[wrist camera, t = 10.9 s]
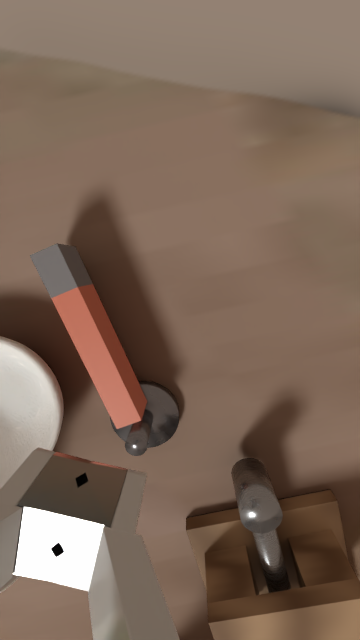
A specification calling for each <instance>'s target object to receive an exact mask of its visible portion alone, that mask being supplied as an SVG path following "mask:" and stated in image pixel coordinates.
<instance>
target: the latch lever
mask: <svg viewBox="0 0 360 640" xmlns="http://www.w3.org/2000/svg"><path fill="white" fill-rule="evenodd" d="M30 257H31V259H32V261H33V263H34V265H35V267H36V269H37V271H38V273H39V275H40V277H41V279H42V281H43V283H44V285H45V287H46V289H47V291H48V293H49V295H50V297H51V299H52V301H53V303H54V305H55V307H56V309H57V311H58V313H59V315H60V317H61V319H62V321H63V323H64V325H65V327H66V329H67V331H68V333H69V335H70V337H71V339H72V341H73V343H74V345H75V347H76V349H77V351H78V353H79V355H80V357H81V359H82V361H83V363H84V365H85V367H86V369H87V371H88V373H89V375H90V377H91V379H92V381H93V383H94V385H95V387H96V389H97V391H98V393H99V395H100V397H101V399H102V401H103V403H104V405H105V407H106V409H107V411H108V413H109V415H110V417H111V419H112V421H113V423H114V425H115V427H116V429H119V428H122V427H125V426H127V425H130V424H133V423H136V422H139V421H141V420H142V417H143V414H144V410H145V407H146V404H147V400H146V397H145V395H144V393H143V391H142V389H141V387H140V384H139V382H138V380H137V378H136V376H135V374H134V372H133V369H132V367H131V365H130V363H129V361H128V359H127V357H126V354H125V352H124V350H123V348H122V346H121V344H120V341H119V339H118V337H117V335H116V333H115V331H114V329H113V326H112V324H111V322H110V320H109V318H108V316H107V314H106V311H105V309H104V307H103V305H102V303H101V301H100V298H99V296H98V294H97V292H96V290H95V288H94V286H93V283H92V281H91V279H90V277H89V275H88V273H87V271H86V268H85V266H84V264H83V262H82V260H81V258H80V255H79V253H78V251H77V249H76V247H75V246H69V245H63V244H55V245H52V246H50V247H48V248H46V249H43V250H41V251H39V252H37V253H34V254H32V255H30Z"/></svg>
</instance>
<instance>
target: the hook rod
mask: <svg viewBox="0 0 360 640" xmlns="http://www.w3.org/2000/svg"><path fill="white" fill-rule="evenodd" d="M231 474H232V479H233V484H234V489H235V494H236V499H237V504H238V509H239V513H240V518H241V522H242V524H243V525H244V527H245V528H246V529H248V530H250V531H252V532H253V536H254V540H255V544H256V547H257V551H258V555H259V558H260V562H261V566H262V569H263V573H264V577H265V580H266V584H267V588H268V591H269V593H272V592H278V591H284V590H290V589H291V586H290V582H289V578H288V574H287V570H286V566H285V562H284V558H283V554H282V550H281V546H280V542H279V538H278V534H277V530H276V528H277V527H278V526H279V525H280V523H281V521H282V517H283V514H282V510H281V507H280V505H279V502H278V500H277V497H276V494H275V492H274V489H273V486H272V484H271V481H270V478H269V476H268V473H267V471H266V468H265V466H264V464H263V463H262V462H260V461H259V460H257V459H254V458H245V459H242V460H240V461H238V462H237V463H236V464H235V465H234V466H233V468H232V472H231Z"/></svg>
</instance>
